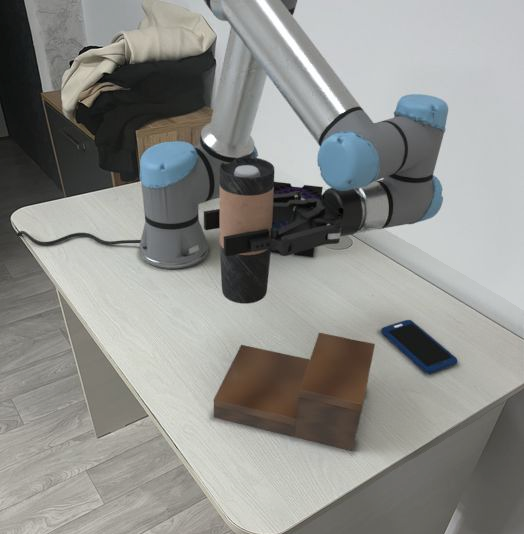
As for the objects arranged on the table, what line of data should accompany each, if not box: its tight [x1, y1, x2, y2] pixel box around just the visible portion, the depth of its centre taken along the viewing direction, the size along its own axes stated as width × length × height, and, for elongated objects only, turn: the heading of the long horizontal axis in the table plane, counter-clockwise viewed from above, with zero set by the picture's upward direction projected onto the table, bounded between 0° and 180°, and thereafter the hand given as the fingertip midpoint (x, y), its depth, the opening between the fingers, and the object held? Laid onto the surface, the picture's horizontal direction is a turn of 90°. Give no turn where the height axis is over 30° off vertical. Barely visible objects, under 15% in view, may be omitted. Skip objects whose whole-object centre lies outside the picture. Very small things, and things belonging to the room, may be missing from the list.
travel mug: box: [219, 157, 275, 305], centre depth 79 cm, size 8×8×20 cm
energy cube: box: [270, 181, 324, 258], centre depth 126 cm, size 12×12×12 cm
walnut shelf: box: [213, 332, 376, 452], centre depth 85 cm, size 22×14×10 cm, turn 74°
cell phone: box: [380, 319, 458, 374], centre depth 100 cm, size 7×14×1 cm, turn 28°
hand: (214, 233), depth 77 cm, fingers closed on travel mug, 7 cm apart
